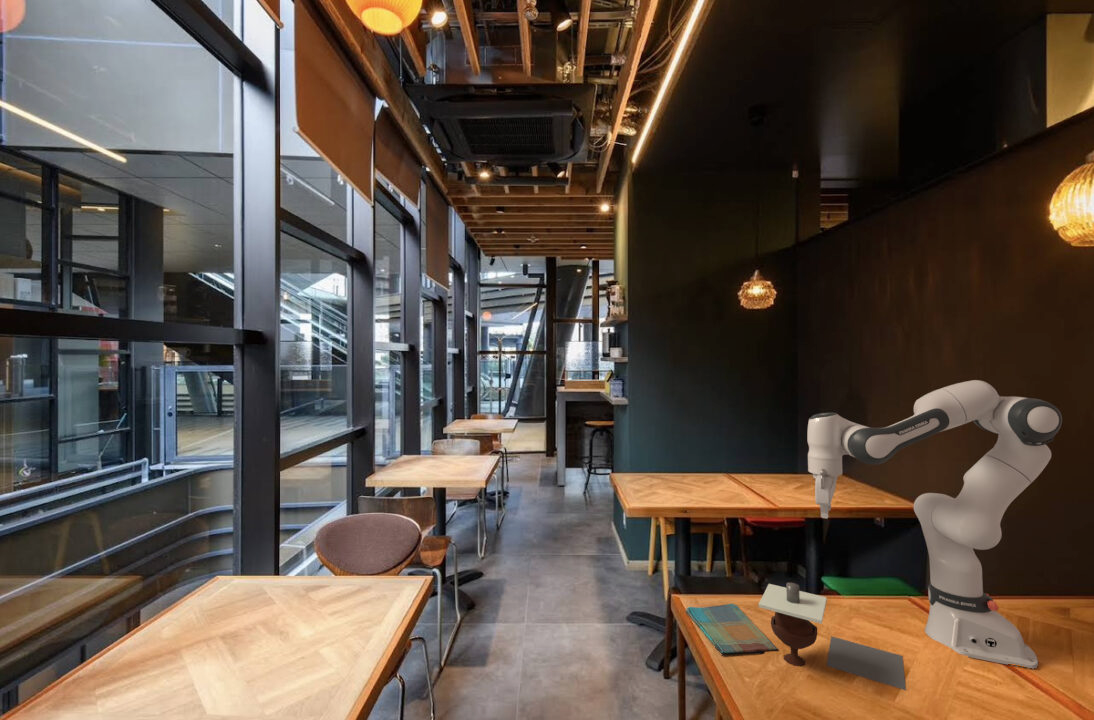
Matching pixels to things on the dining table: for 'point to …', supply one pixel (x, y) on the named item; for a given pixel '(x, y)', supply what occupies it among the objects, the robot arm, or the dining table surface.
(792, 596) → the lid
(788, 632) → the ice cream bowl
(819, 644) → the dining table surface
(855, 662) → the mat
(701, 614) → the dish towel
